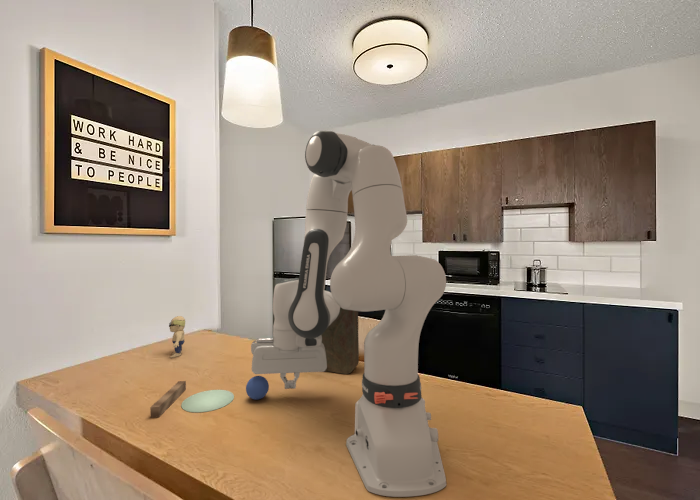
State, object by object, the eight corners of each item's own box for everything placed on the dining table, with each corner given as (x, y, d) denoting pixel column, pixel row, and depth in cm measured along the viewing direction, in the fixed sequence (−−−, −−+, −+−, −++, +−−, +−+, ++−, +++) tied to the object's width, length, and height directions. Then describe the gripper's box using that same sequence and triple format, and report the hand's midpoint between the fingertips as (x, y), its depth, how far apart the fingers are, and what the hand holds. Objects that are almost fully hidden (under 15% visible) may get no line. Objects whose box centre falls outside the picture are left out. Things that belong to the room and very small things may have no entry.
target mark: (226, 411, 85) (226, 410, 85) (172, 413, 84) (172, 412, 84) (239, 389, 98) (239, 388, 98) (192, 391, 97) (192, 390, 97)
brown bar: (159, 417, 82) (158, 406, 82) (150, 417, 82) (150, 407, 82) (185, 389, 98) (185, 380, 98) (178, 389, 98) (178, 381, 98)
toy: (172, 351, 135) (172, 313, 135) (188, 349, 137) (187, 312, 137) (165, 361, 123) (165, 320, 123) (182, 359, 125) (182, 319, 125)
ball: (267, 403, 89) (266, 380, 89) (243, 404, 89) (243, 381, 89) (270, 393, 95) (270, 372, 95) (248, 394, 95) (248, 372, 95)
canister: (360, 367, 115) (359, 293, 115) (352, 376, 107) (351, 297, 107) (310, 361, 122) (309, 291, 121) (299, 369, 114) (298, 295, 113)
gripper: (248, 342, 89) (249, 394, 89) (326, 339, 90) (327, 391, 90) (253, 335, 95) (254, 384, 95) (326, 333, 97) (327, 381, 97)
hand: (290, 387), depth 93 cm, fingers closed
